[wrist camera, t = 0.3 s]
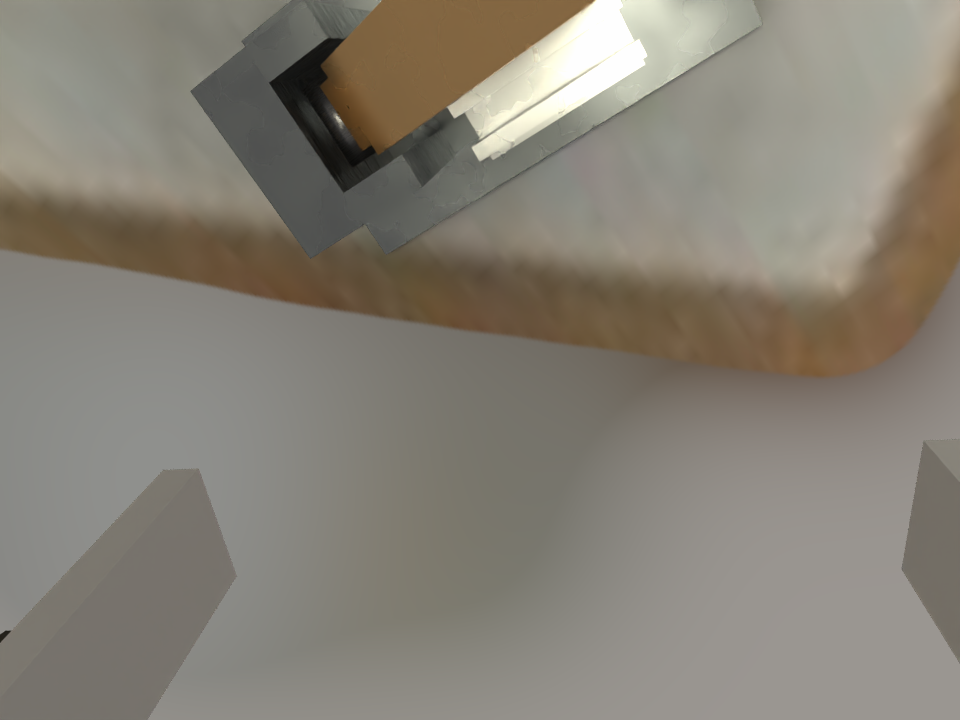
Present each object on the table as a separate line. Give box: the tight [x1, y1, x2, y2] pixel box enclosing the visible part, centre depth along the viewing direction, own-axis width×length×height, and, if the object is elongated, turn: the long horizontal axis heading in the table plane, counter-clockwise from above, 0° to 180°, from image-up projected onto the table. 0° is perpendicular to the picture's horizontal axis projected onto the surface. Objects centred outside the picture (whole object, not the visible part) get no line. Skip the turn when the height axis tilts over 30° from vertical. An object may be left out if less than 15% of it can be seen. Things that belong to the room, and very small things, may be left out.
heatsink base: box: [191, 0, 763, 259], centre depth 29 cm, size 22×13×10 cm, turn 122°
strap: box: [302, 0, 598, 167], centre depth 23 cm, size 15×4×1 cm
